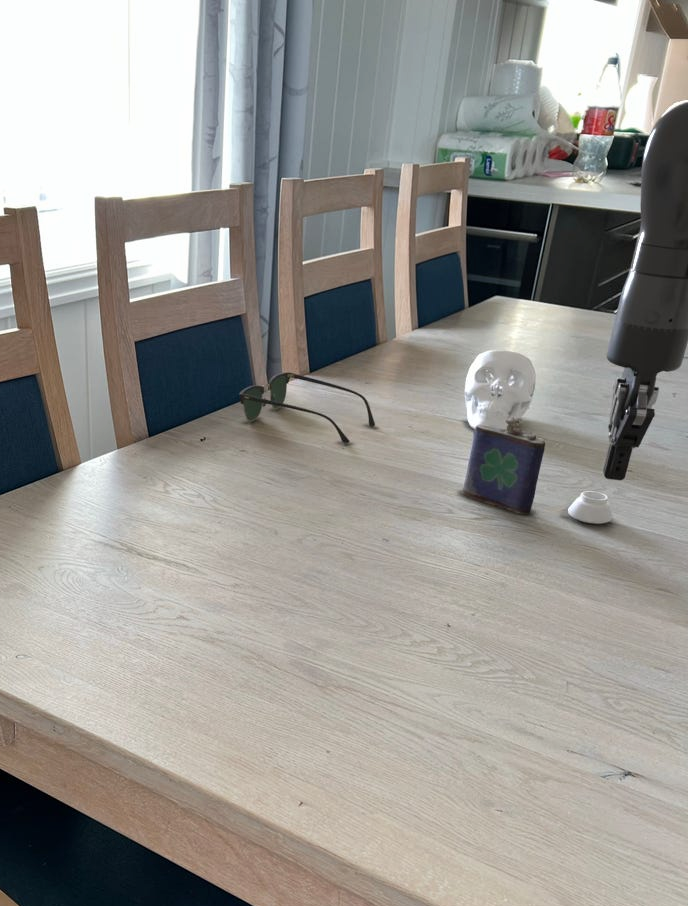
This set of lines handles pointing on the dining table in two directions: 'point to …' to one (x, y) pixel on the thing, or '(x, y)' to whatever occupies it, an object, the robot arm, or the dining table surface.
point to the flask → (504, 466)
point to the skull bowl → (499, 388)
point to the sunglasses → (278, 388)
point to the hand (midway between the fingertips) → (613, 477)
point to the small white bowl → (591, 508)
